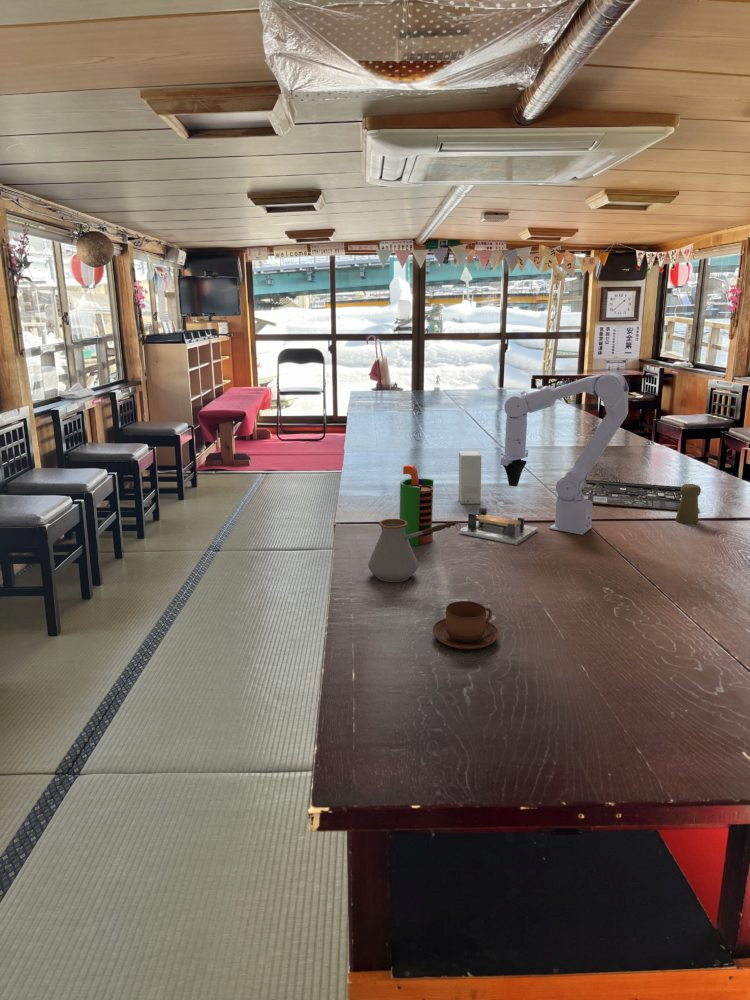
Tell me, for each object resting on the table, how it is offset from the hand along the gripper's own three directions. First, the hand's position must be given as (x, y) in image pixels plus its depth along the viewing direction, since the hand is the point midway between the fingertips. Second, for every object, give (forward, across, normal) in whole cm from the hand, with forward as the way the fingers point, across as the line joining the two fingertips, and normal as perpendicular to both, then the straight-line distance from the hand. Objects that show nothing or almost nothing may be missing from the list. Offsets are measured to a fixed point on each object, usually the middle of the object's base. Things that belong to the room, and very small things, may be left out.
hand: (513, 485), depth 194 cm
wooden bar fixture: (+10, +12, +2) cm, 16 cm away
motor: (+11, +30, -14) cm, 35 cm away
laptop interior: (+11, -46, +23) cm, 52 cm away
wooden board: (+8, +12, +1) cm, 14 cm away
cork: (+11, -27, +42) cm, 51 cm away
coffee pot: (+11, +54, 0) cm, 55 cm away
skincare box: (+11, -12, -20) cm, 26 cm away
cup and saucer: (+11, +73, +23) cm, 78 cm away
